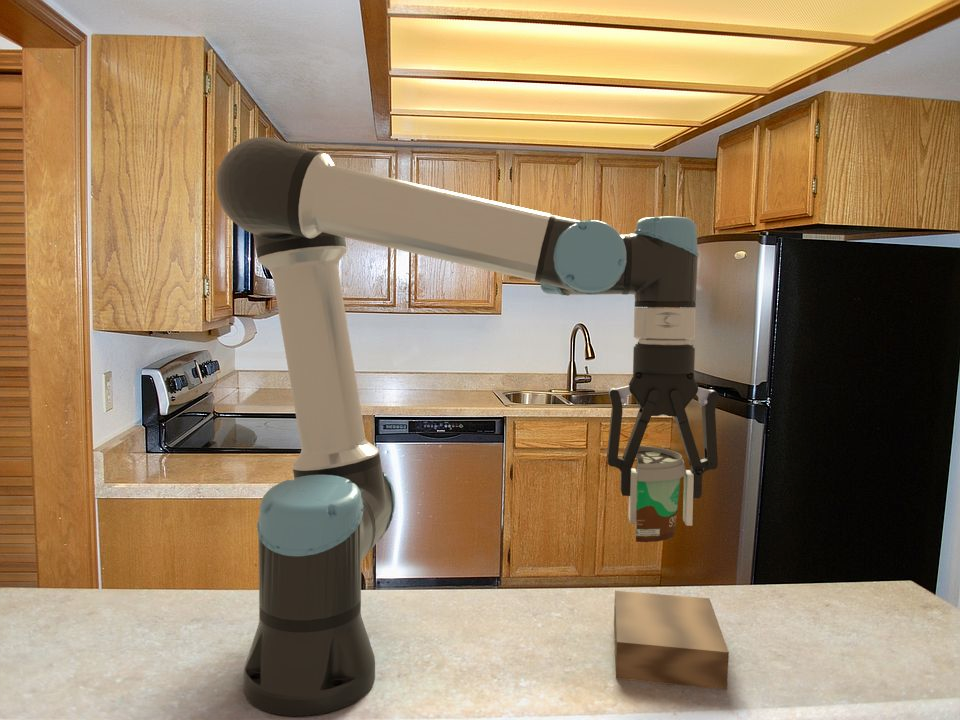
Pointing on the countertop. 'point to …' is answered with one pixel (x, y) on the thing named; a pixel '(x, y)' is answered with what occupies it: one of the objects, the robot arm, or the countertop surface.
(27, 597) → the countertop surface
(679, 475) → the food container
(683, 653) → the walnut block
